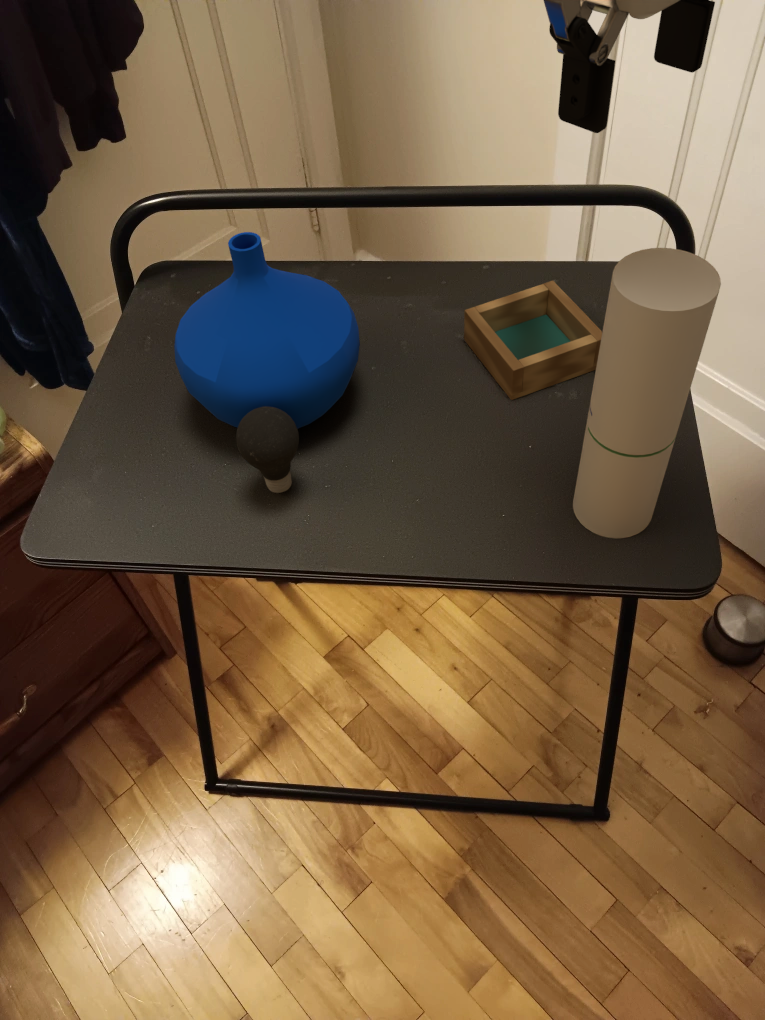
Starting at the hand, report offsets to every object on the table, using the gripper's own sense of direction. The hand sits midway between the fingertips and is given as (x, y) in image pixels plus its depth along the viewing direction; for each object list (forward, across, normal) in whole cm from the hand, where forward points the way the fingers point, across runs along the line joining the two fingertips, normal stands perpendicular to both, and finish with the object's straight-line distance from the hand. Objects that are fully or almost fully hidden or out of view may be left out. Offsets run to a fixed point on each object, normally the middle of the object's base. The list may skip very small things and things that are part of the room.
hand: (630, 94), depth 51 cm
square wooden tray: (+35, +10, +14) cm, 39 cm away
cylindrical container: (+36, -1, -5) cm, 36 cm away
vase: (+35, -13, +29) cm, 48 cm away
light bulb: (+36, -21, +19) cm, 45 cm away
